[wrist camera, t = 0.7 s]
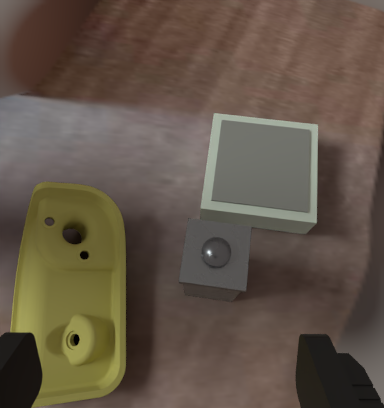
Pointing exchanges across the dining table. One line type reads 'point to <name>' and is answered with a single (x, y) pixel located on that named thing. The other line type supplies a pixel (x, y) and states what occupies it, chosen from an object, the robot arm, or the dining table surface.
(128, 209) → the dining table surface
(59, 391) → the plastic component
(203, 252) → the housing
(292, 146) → the stand
